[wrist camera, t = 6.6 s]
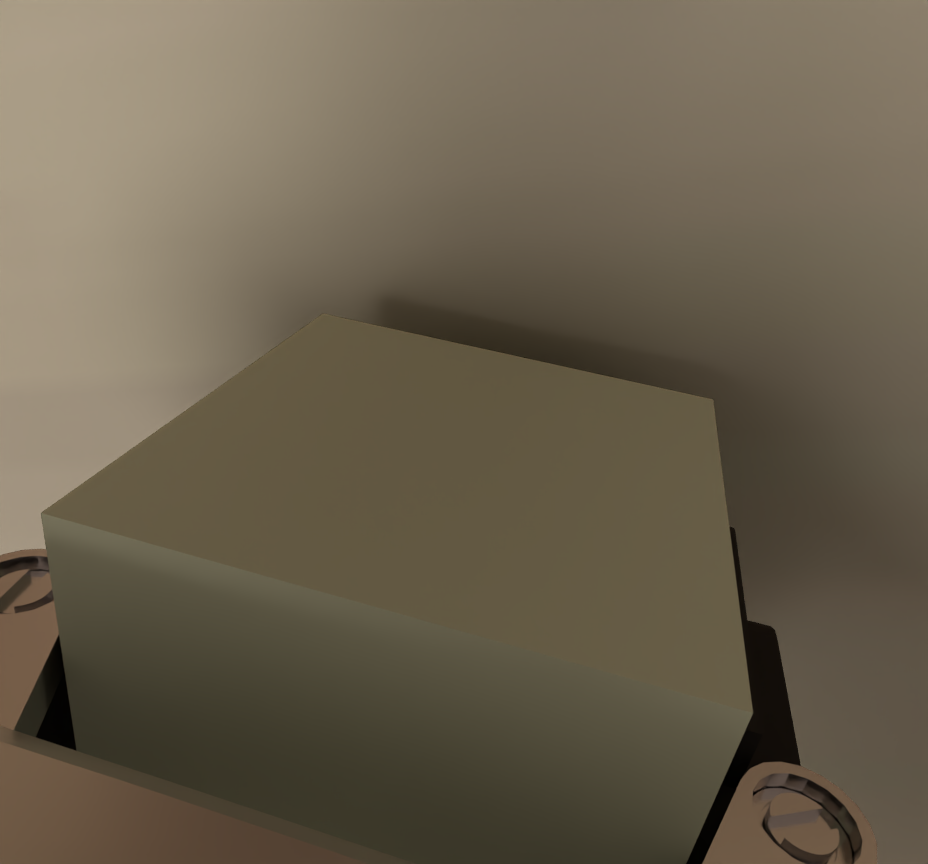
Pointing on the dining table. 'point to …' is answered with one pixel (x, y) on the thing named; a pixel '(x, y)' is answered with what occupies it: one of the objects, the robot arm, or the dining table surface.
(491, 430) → the sage block
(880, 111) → the dining table surface
